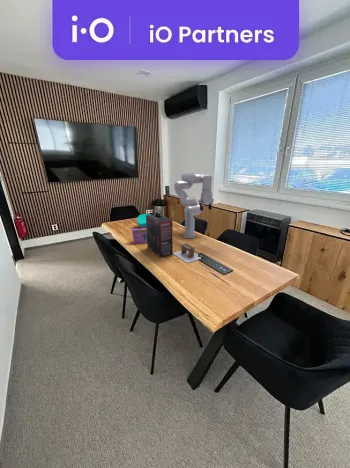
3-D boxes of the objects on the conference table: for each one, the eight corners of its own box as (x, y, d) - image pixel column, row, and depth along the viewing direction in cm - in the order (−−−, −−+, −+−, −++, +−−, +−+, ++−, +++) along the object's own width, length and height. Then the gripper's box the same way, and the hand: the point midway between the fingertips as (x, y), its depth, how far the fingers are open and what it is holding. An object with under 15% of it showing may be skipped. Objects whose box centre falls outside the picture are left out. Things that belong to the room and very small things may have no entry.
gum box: (132, 244, 187) (131, 230, 183) (131, 241, 195) (131, 227, 190) (158, 241, 194) (157, 228, 189) (156, 239, 201) (156, 225, 197)
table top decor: (133, 226, 242) (132, 215, 237) (154, 223, 255) (154, 212, 251) (146, 235, 209) (145, 223, 205) (169, 231, 223) (169, 220, 218)
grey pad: (172, 253, 168) (172, 252, 168) (187, 249, 176) (187, 248, 176) (187, 263, 151) (187, 262, 151) (203, 258, 160) (203, 257, 160)
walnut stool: (188, 258, 158) (189, 248, 155) (180, 253, 167) (180, 244, 164) (194, 256, 161) (194, 247, 158) (186, 252, 170) (186, 243, 167)
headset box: (146, 247, 180) (145, 210, 169) (159, 244, 186) (158, 209, 175) (159, 258, 160) (159, 217, 149) (173, 254, 166) (173, 215, 156)
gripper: (201, 191, 165) (200, 211, 170) (217, 189, 174) (215, 209, 179) (195, 190, 171) (195, 210, 176) (211, 189, 180) (209, 208, 185)
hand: (205, 209), depth 178 cm, fingers open, 9 cm apart
